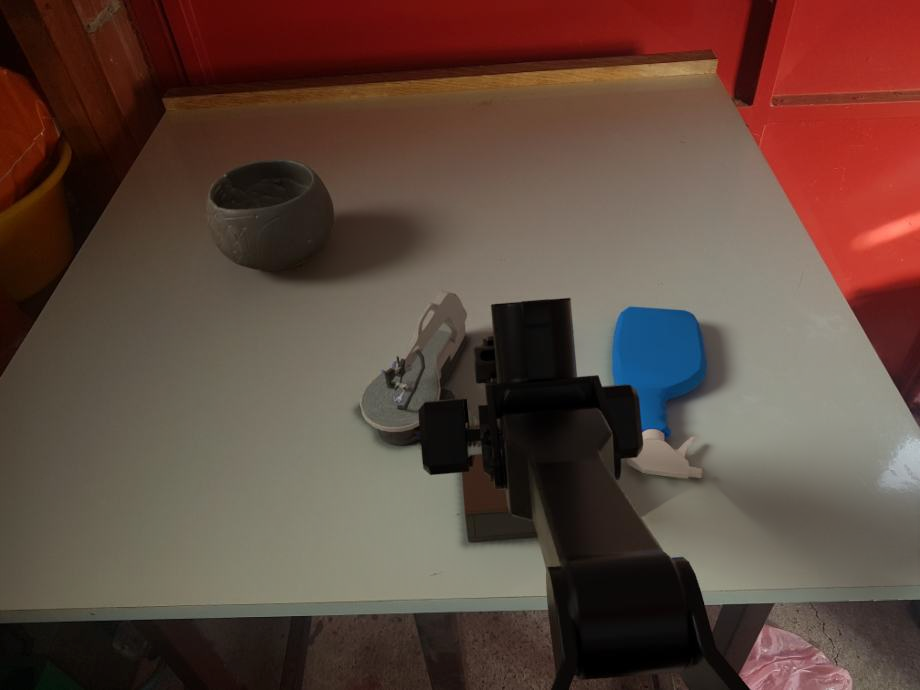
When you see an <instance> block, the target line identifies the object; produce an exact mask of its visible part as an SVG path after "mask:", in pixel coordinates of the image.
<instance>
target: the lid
mask: <svg viewBox="0 0 920 690" xmlns="http://www.w3.org/2000/svg"><path fill="white" fill-rule="evenodd" d="M497 423H498V419H497ZM479 427H480V424H478V423H477V428H479ZM477 443H478V445H479V446H480V443H481V441H477ZM469 470H470V472H461V478H462V479H461V480H462V493H463V509H464V511H463V512H464V516H465V515H472V514H483V513H495V512H507V511H509V508H508V504H507V499H506V492H505V489H504V490H503V489H502V490H495V488H494V481H492V482H491V480H490V477H489V476H488V475H487V474H485V473H484V472H483V460H482V454H480V455H475V457H474V462H473V466H472V467H469Z"/></svg>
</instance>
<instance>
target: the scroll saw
mask: <svg viewBox="0 0 920 690" xmlns="http://www.w3.org/2000/svg"><path fill="white" fill-rule="evenodd" d="M467 318H468V313H467V310H466V309H465V307H464V305H463V303H462V301H461V299H460V297H459V296H458V295H457V294H456V293H455V292H449V291H447V290H441V291H440V292H439V293H438V294H437V296H436V298H435V299H434V301H433V302H430V303H428V304H427V306H426V307H425V308H424V310H423V312H422V313H421V315H420V317H419V319H418V321H417V323H416V326H415V330H414V335H413V336H412V339H411V341H410V342H409V344H408V345H407V348H406V350H405V352H404V354H403V355H402V357H401V359H400V357H399V355H397V356H396V360H394V361H393V362H392V363H391V364H392V365H391V366H390V367H388V368H387V369H381V370H380V373H379V374H378V375H377V376H376V377H374V378H372V380H371V381H370V382H369V383H368V385H366V387H365V388H364V390H363V392H362V394H361V396H360V400H359V401H360V402H359V404H360V405H359V406H358V408H359V411H360V413H361V415H362V417H363V418H364V420H365V421H366V422H367V423H368V424H369V425H370V426H372V428H376V431H377V434H378V437H379V439H380V440H381V441H383V442H384V443H386V444H389V445H391V446H397V447H401V446H403V447H404V446H406V445H410V444H411V443H414V442H415V441H418V440H421V439H420V427H419V408H420V407H421V406H422V405H423V404H424V402H425V401H436V400H448V399H457V398H456V394H455V393H454V391H452V390H451V389H447V388H443V387H442V385H443V384H444V383H445V382H446V381H447V380H448V378H449V377H450V375H451V374H452V372H453V370H454V368H455V366H456V364H457V362H458V359H459V357H460V355H461V353H462V352H463V350H464V348H465V346H466V344H467V342H468V339H467V337H468V336H467V334H466V321H467Z"/></svg>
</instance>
